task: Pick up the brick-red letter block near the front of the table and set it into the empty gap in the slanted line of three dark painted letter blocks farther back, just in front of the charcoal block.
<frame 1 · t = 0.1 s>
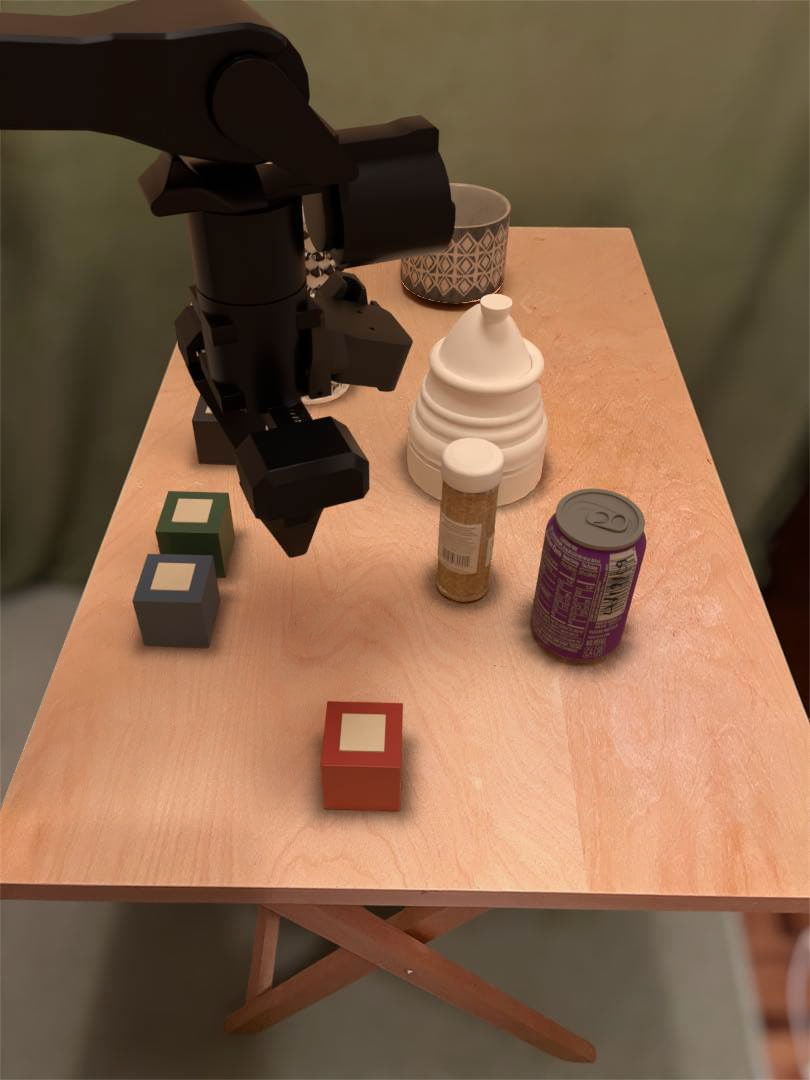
hand: (274, 508, 58), 16 cm above the table, tool pointing down, fingers open, 9 cm apart
green block B: (200, 556, 77), on the table
decorative candle: (310, 383, 97), on the table
sprinkles bottle: (461, 585, 75), on the table
honey pot: (474, 465, 87), on the table
beverage can: (574, 633, 72), on the table
red letter block: (363, 776, 61), on the table
charcoal block C: (229, 448, 88), on the table
slate block A: (183, 622, 71), on the table
planter: (451, 288, 113), on the table
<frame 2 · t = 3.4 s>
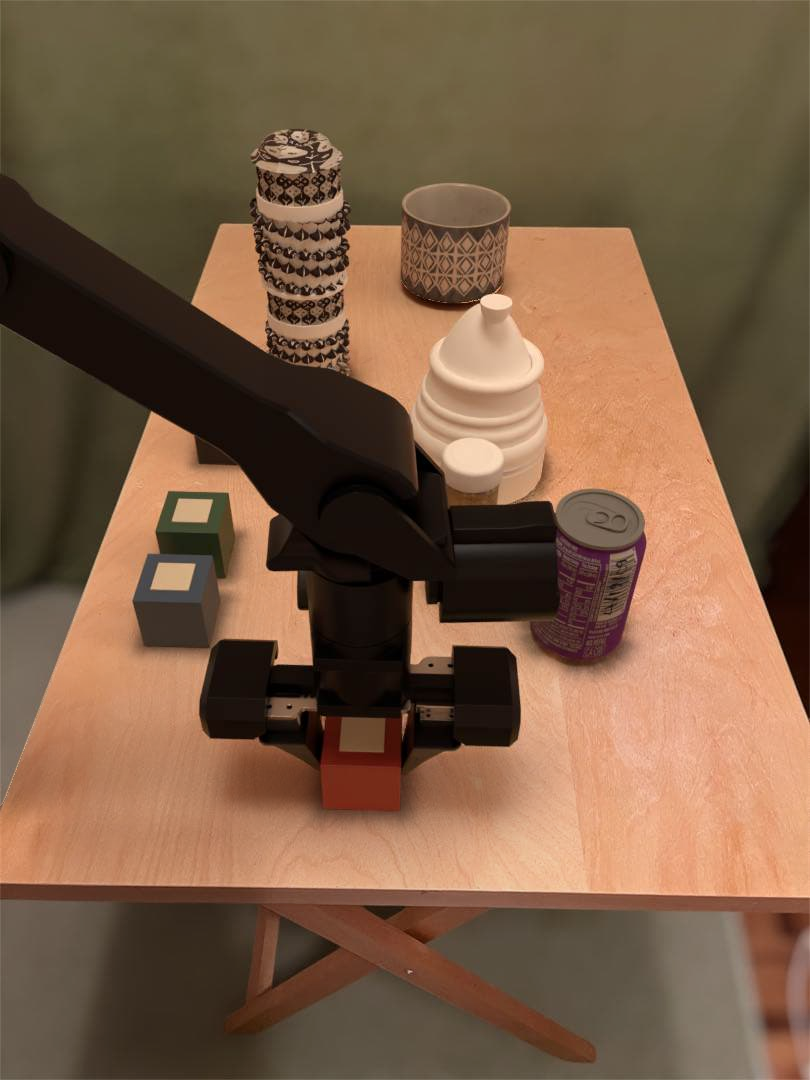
hand: (363, 768, 61), 1 cm above the table, tool pointing down, fingers closed on red letter block, 5 cm apart
red letter block: (363, 776, 61), on the table, touching gripper
everything else where it was.
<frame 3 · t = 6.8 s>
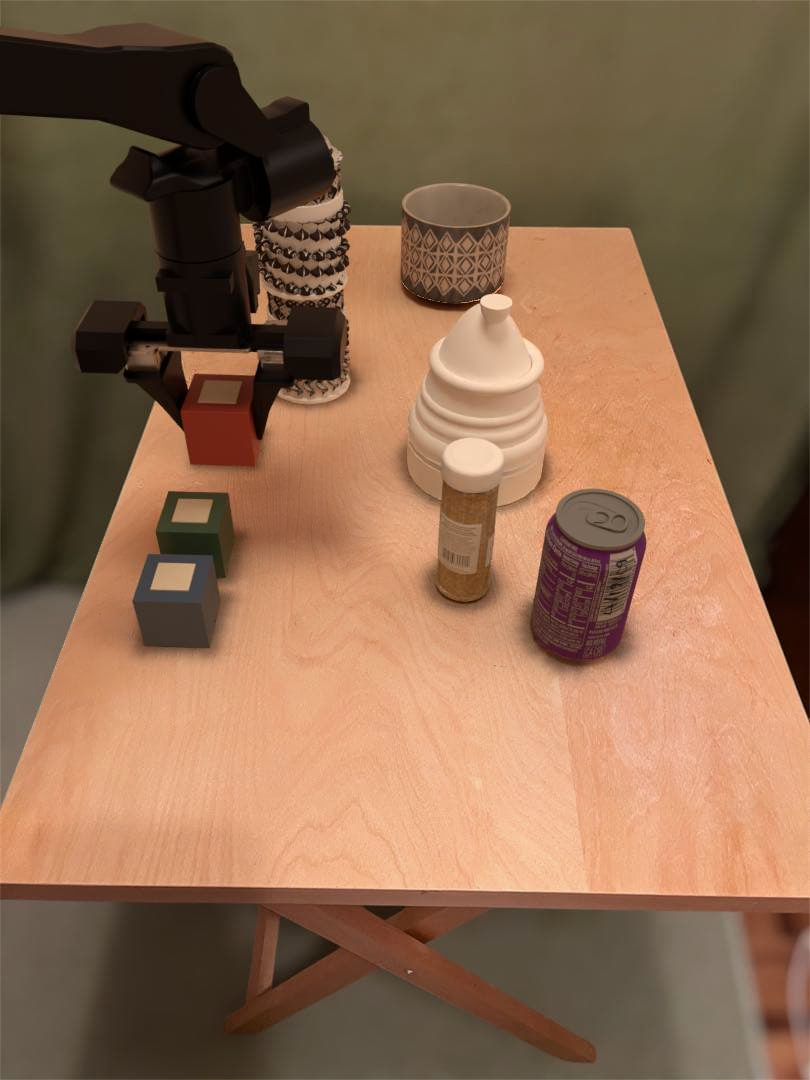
hand: (226, 435, 71), 11 cm above the table, tool pointing down, fingers closed on red letter block, 5 cm apart
red letter block: (228, 446, 71), point 10 cm above the table, touching gripper
everything else where it was.
when the fingers open (1 cm above the table, at t = 10.1 s): red letter block stays where it is, on the table.
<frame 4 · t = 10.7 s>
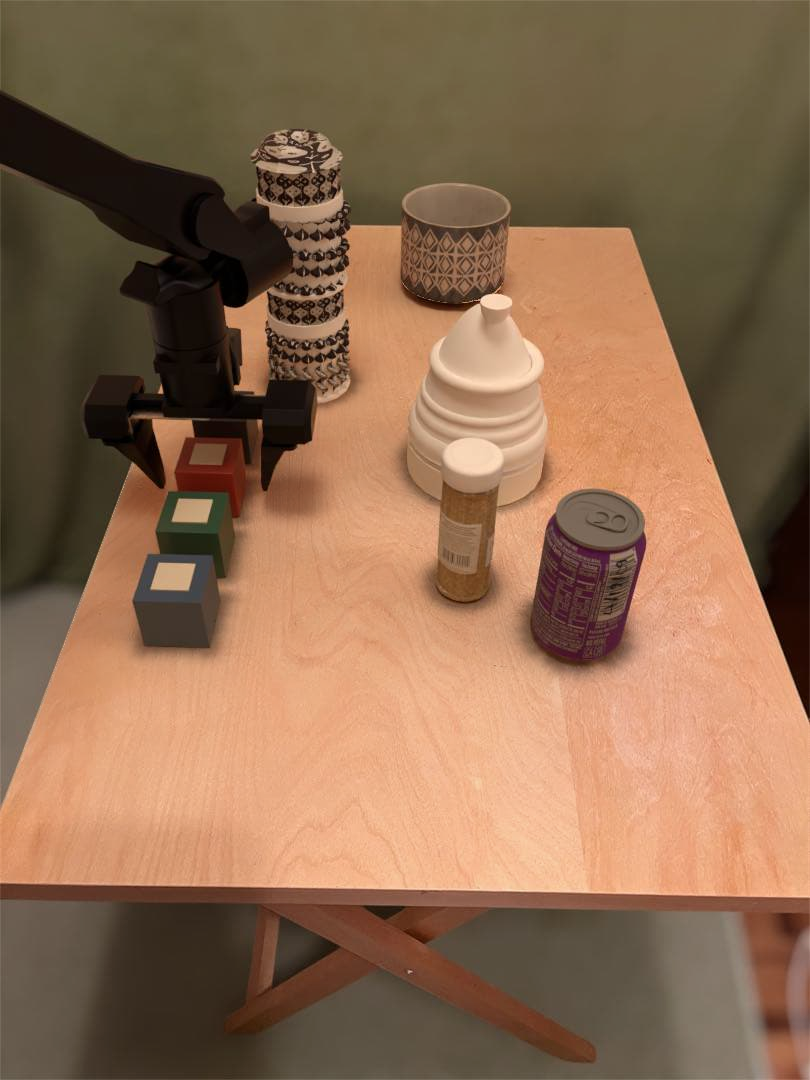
hand: (214, 487, 81), 1 cm above the table, tool pointing down, fingers open, 9 cm apart
red letter block: (215, 498, 82), on the table
everything else where it was.
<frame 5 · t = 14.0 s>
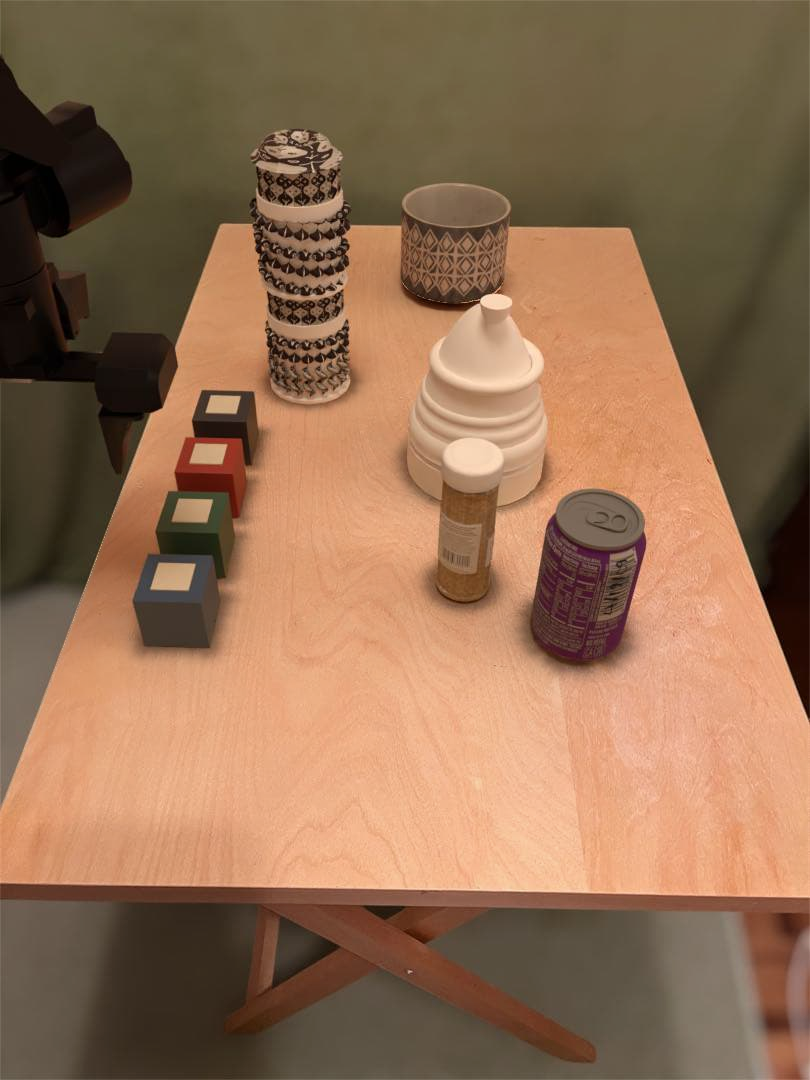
hand: (57, 469, 66), 12 cm above the table, tool pointing down, fingers open, 9 cm apart
nothing on the table moved.
at the end: red letter block 0.1 cm from the target spot on the table beside the charcoal block C, on the table; red letter block tilted 0°; charcoal block C moved 0.0 cm from its start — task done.
